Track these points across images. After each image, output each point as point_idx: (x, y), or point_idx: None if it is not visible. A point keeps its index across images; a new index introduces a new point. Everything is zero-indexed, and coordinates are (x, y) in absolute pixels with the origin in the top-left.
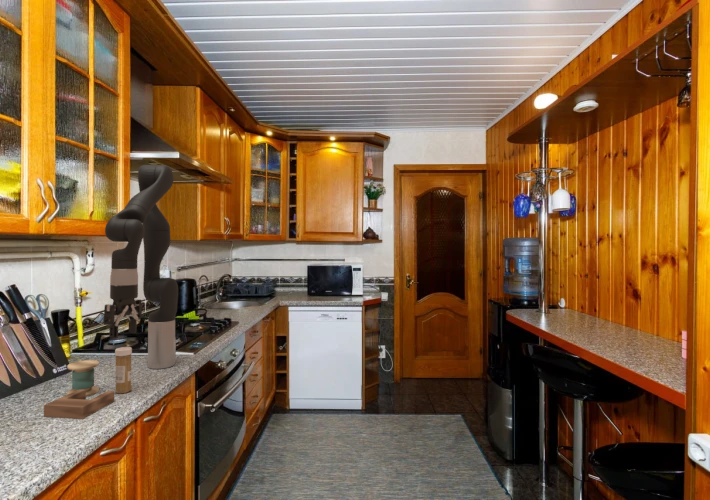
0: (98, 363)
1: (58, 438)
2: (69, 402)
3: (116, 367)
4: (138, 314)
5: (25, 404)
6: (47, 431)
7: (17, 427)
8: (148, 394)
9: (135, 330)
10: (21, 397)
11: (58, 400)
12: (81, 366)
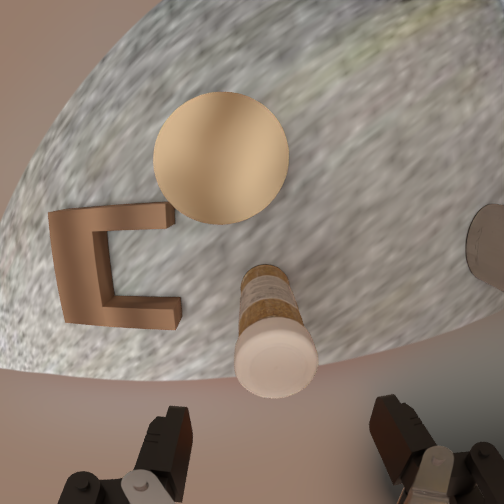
0: (251, 215)
1: (21, 325)
2: (74, 265)
3: (240, 314)
4: (454, 500)
5: (121, 82)
6: (26, 284)
7: (21, 206)
8: None
9: (375, 437)
10: (170, 24)
11: (77, 221)
12: (174, 186)
